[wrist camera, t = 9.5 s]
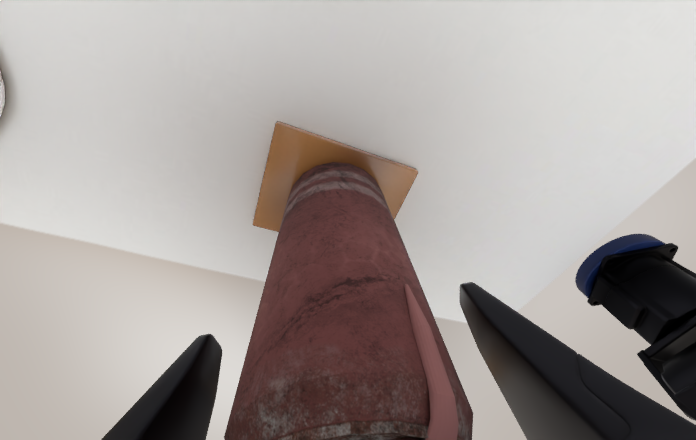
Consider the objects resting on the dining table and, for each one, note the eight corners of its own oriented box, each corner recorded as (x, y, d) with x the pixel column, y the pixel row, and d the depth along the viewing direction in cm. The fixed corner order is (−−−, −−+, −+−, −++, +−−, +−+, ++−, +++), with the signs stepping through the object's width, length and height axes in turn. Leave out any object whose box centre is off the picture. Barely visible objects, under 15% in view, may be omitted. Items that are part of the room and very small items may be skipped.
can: (401, 178, 17) (567, 449, 5) (356, 253, 20) (401, 541, 8) (311, 138, 16) (265, 397, 4) (276, 225, 19) (184, 534, 7)
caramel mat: (416, 168, 18) (418, 172, 17) (374, 252, 21) (375, 256, 21) (277, 120, 16) (275, 122, 15) (254, 221, 19) (252, 225, 19)
